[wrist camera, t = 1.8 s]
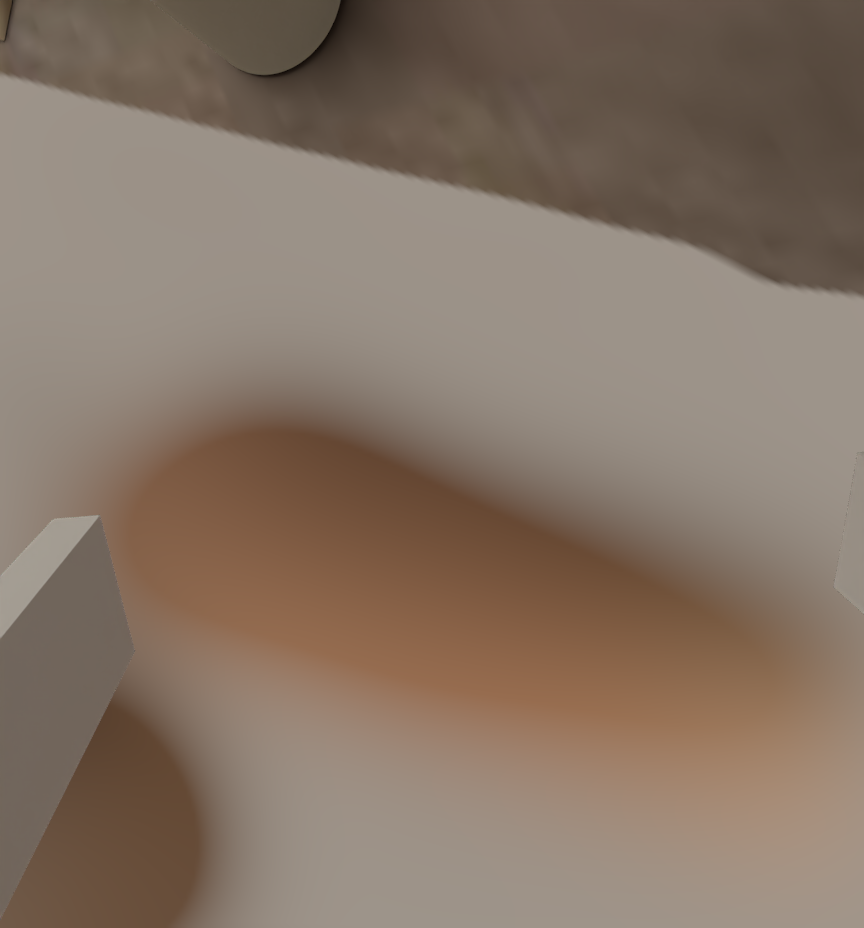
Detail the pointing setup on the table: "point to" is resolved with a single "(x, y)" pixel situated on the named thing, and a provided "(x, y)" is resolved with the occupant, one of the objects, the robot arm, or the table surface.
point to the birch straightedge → (4, 17)
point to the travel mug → (256, 29)
